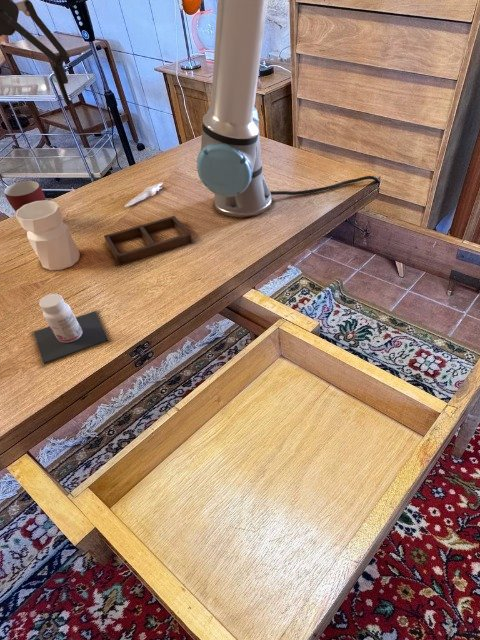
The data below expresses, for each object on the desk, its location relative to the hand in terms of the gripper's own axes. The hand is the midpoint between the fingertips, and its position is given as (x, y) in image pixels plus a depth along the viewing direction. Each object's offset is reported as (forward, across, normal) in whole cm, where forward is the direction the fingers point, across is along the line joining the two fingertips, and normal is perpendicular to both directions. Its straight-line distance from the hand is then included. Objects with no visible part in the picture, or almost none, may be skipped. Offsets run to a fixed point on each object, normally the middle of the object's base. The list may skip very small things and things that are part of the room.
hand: (34, 109), depth 91 cm
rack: (+27, -12, +15) cm, 33 cm away
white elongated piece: (+27, -18, -8) cm, 34 cm away
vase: (+27, +8, +11) cm, 30 cm away
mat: (+27, +12, +40) cm, 50 cm away
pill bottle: (+26, +12, +40) cm, 49 cm away
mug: (+27, +10, -8) cm, 30 cm away
